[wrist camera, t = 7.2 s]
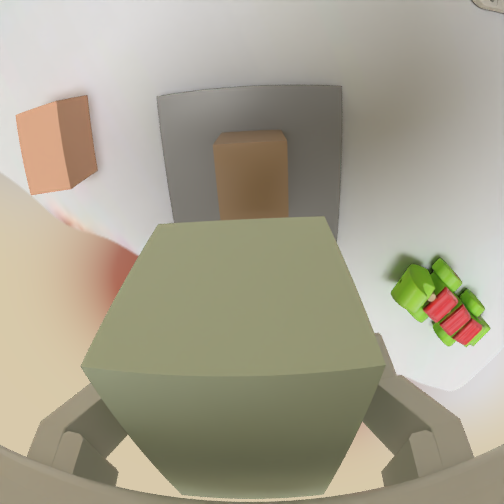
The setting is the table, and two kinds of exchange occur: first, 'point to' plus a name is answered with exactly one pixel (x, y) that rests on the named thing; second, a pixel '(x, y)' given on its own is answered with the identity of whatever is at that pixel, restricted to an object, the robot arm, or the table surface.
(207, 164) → the base plate
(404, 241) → the table surface
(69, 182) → the terracotta brick
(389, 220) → the table surface
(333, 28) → the table surface
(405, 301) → the toy crocodile
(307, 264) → the sage brick
